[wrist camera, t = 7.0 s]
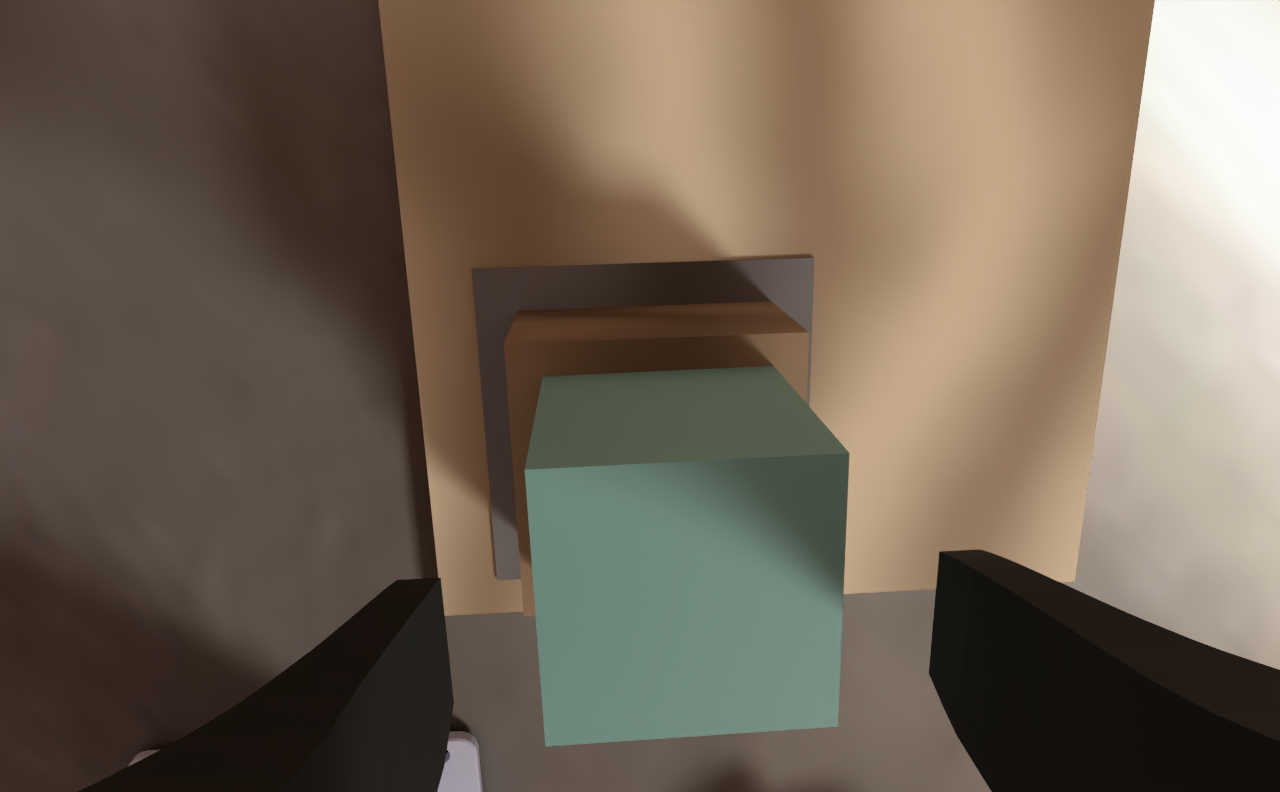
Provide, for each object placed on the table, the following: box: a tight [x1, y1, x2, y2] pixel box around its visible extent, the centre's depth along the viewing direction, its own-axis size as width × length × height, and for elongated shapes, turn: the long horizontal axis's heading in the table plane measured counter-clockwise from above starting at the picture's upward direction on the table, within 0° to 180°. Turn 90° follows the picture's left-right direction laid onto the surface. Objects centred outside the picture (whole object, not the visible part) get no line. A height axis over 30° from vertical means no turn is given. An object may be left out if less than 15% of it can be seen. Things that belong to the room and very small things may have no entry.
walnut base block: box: [504, 302, 809, 617], centre depth 19 cm, size 6×6×4 cm
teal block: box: [525, 366, 850, 746], centre depth 15 cm, size 5×5×5 cm
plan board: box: [378, 0, 1155, 616], centre depth 20 cm, size 17×15×1 cm
